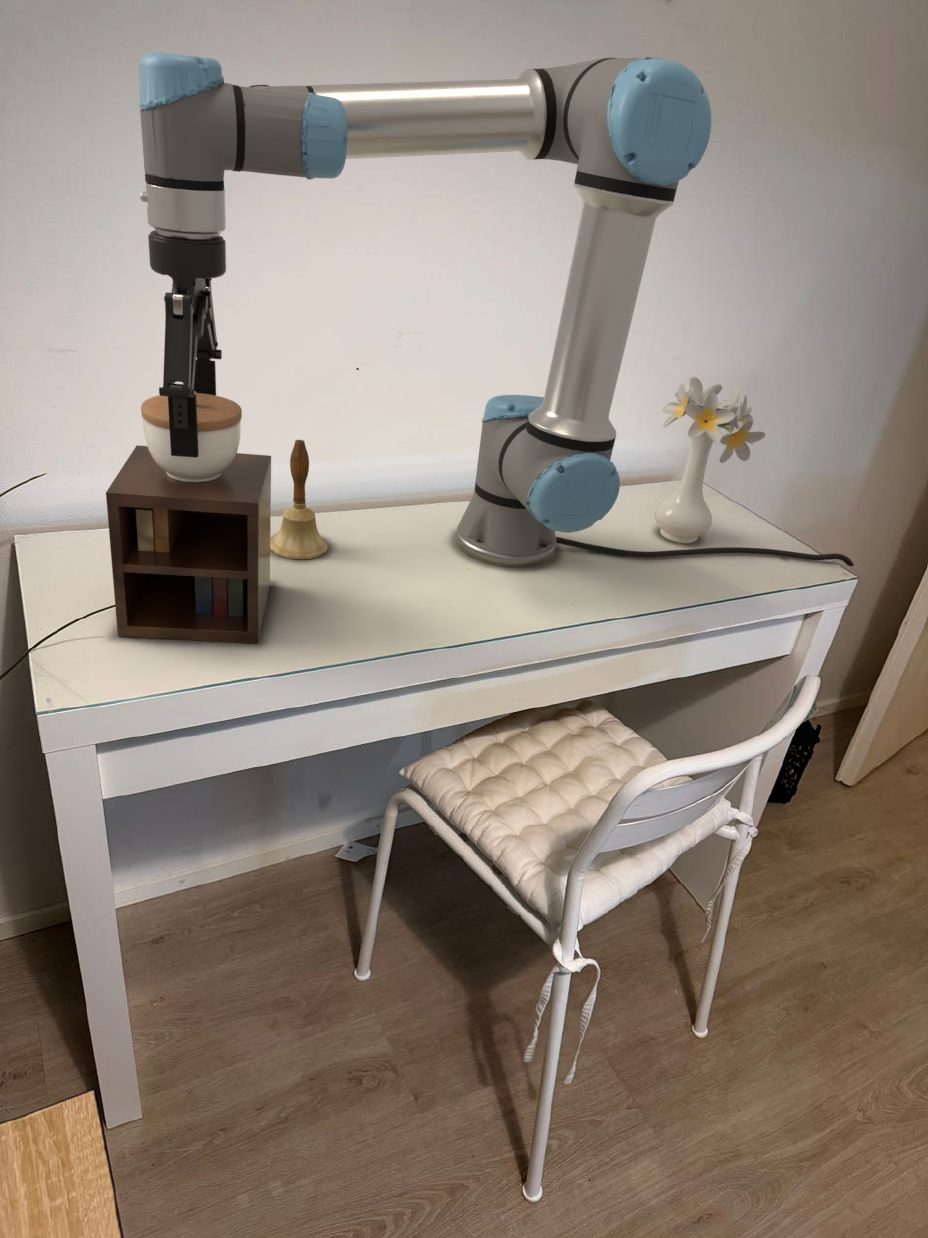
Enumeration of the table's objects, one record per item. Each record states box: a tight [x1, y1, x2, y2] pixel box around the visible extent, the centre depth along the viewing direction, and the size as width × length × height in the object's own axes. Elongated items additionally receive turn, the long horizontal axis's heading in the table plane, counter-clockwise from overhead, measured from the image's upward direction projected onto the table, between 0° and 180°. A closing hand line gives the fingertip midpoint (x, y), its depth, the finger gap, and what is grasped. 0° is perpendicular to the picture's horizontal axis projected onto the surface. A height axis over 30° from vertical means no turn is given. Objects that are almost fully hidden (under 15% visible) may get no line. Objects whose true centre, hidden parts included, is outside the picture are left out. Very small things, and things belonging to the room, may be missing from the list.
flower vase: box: [654, 376, 766, 544], centre depth 146 cm, size 13×18×25 cm
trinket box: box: [140, 391, 243, 482], centre depth 103 cm, size 11×11×9 cm
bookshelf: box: [105, 444, 272, 644], centre depth 109 cm, size 16×15×18 cm
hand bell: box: [270, 439, 329, 560], centre depth 128 cm, size 8×8×16 cm
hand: (195, 434), depth 103 cm, fingers open, 13 cm apart
